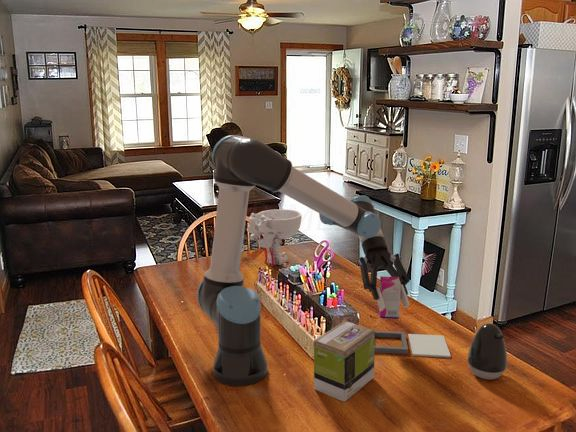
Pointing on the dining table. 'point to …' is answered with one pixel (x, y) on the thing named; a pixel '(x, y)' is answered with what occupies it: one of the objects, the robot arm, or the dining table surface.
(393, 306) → the supplement box
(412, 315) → the dining table surface
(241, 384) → the robot arm
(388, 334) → the socket frame
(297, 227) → the white sculpted pedestal bowl
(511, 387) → the dining table surface
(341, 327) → the tea box
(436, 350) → the white flat square tile
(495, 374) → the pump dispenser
